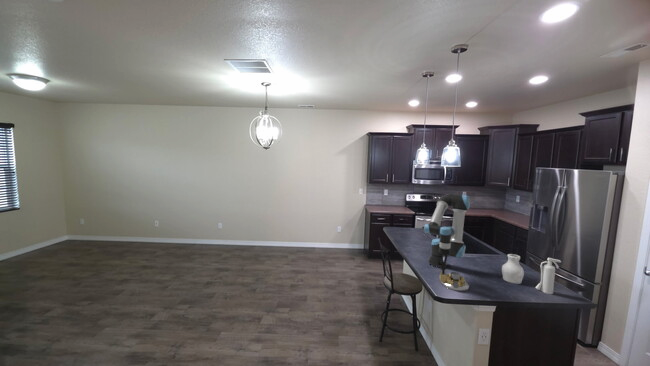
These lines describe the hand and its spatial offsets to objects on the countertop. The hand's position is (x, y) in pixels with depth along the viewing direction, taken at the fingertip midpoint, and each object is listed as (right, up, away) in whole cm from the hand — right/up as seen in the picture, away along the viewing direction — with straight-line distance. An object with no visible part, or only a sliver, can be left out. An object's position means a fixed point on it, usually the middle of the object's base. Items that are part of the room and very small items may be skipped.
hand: (443, 277), depth 194 cm
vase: (+57, -5, +7) cm, 58 cm away
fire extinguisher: (+69, -6, -11) cm, 70 cm away
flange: (+6, -4, -5) cm, 9 cm away
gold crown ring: (+4, -2, -5) cm, 7 cm away
